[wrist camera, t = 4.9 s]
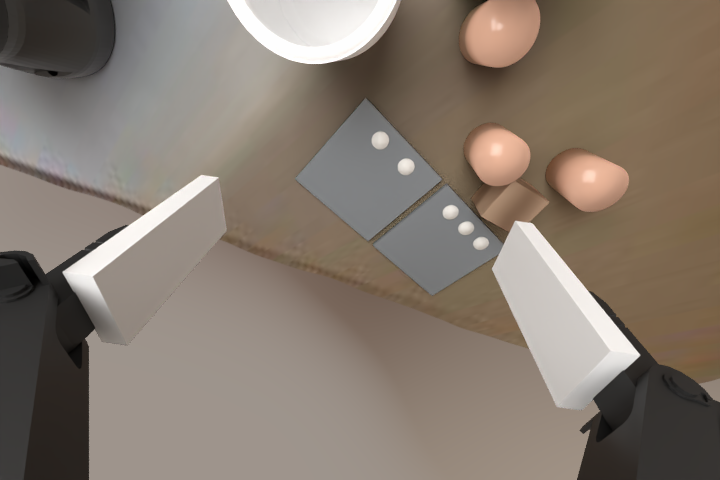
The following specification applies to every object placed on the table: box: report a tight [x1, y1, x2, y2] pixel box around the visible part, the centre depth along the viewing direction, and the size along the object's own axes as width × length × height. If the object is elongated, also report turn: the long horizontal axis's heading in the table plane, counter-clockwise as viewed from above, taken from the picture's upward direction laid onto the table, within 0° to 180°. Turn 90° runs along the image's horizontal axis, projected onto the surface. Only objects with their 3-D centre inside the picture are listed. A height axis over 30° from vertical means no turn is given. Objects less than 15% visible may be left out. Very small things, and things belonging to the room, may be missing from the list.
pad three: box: [373, 183, 504, 296], centre depth 41 cm, size 13×13×1 cm
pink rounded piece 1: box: [464, 123, 530, 186], centre depth 31 cm, size 5×5×6 cm
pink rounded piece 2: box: [546, 148, 629, 212], centre depth 32 cm, size 5×5×6 cm
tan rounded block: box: [459, 0, 540, 68], centre depth 26 cm, size 5×5×6 cm
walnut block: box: [471, 177, 549, 233], centre depth 35 cm, size 5×5×5 cm
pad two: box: [295, 98, 442, 241], centre depth 37 cm, size 13×13×1 cm
